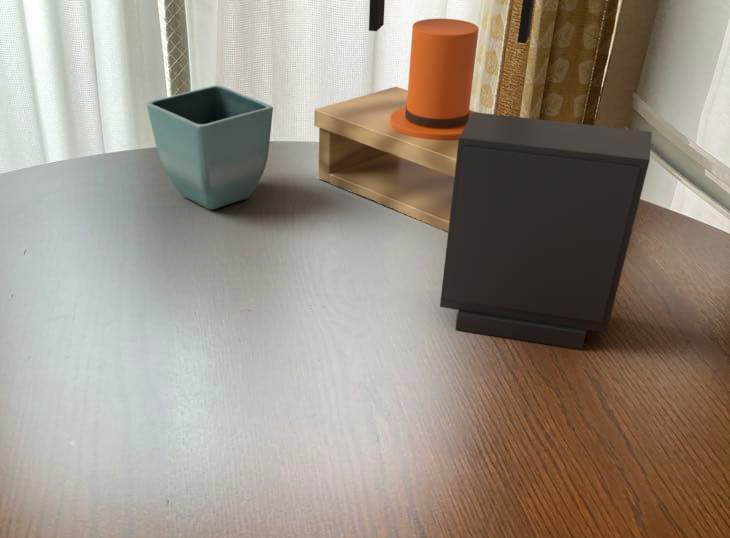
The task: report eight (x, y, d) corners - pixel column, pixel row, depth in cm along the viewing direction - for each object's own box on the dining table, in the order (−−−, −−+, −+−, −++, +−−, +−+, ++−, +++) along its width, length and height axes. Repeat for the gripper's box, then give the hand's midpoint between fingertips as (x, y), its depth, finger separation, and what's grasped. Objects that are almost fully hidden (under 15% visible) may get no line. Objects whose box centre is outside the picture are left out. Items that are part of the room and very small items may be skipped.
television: (601, 353, 71) (649, 162, 61) (436, 327, 74) (457, 139, 64) (607, 312, 76) (652, 129, 67) (452, 288, 79) (474, 109, 69)
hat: (456, 105, 94) (467, 11, 88) (499, 134, 88) (513, 35, 82) (375, 114, 91) (380, 17, 86) (413, 144, 85) (421, 42, 79)
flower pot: (206, 223, 88) (199, 125, 82) (153, 196, 93) (143, 101, 87) (277, 200, 92) (275, 106, 86) (223, 175, 97) (218, 84, 91)
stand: (553, 212, 91) (566, 139, 87) (476, 247, 85) (486, 170, 80) (391, 153, 103) (395, 86, 98) (313, 179, 97) (314, 109, 92)
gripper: (304, -280, 70) (305, 32, 84) (643, -277, 65) (584, 55, 79) (331, -279, 75) (328, 14, 89) (646, -276, 70) (590, 34, 84)
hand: (448, 33), depth 84 cm, fingers open, 13 cm apart
